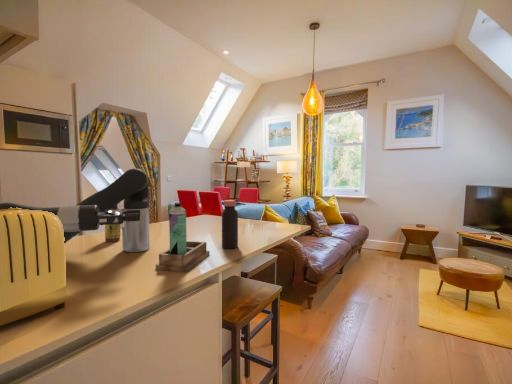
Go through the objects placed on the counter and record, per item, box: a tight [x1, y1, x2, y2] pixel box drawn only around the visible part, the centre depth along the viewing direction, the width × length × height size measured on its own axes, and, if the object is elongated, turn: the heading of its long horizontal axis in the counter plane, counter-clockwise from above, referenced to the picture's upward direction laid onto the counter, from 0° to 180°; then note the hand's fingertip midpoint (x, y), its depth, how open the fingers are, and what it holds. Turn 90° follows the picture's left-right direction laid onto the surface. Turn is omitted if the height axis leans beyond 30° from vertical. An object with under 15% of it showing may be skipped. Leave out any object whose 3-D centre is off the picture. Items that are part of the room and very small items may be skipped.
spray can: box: [168, 201, 187, 255], centre depth 89 cm, size 6×6×20 cm
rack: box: [155, 240, 210, 273], centre depth 94 cm, size 11×19×5 cm, turn 168°
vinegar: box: [221, 199, 239, 250], centre depth 112 cm, size 7×7×20 cm
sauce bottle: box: [104, 204, 121, 243], centre depth 122 cm, size 7×6×20 cm
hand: (140, 214), depth 83 cm, fingers open, 8 cm apart
